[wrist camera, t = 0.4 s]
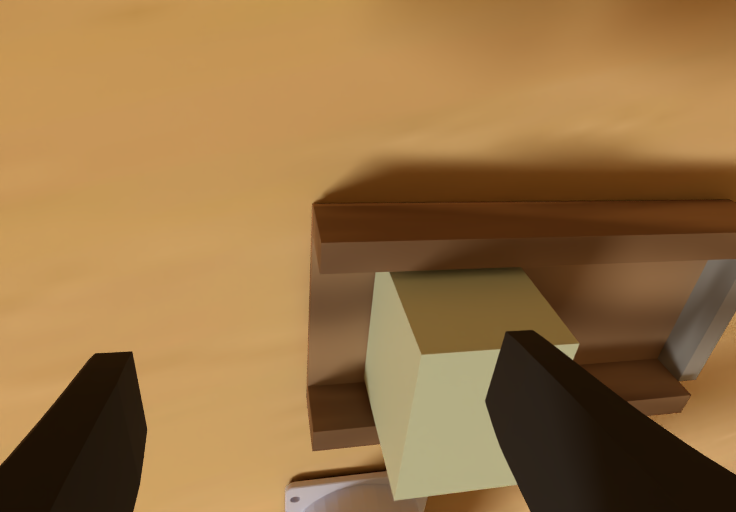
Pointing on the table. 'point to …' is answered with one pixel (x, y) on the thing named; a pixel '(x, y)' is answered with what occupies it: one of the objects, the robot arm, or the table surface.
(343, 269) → the chute
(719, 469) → the robot arm
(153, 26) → the table surface
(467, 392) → the block
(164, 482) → the table surface
